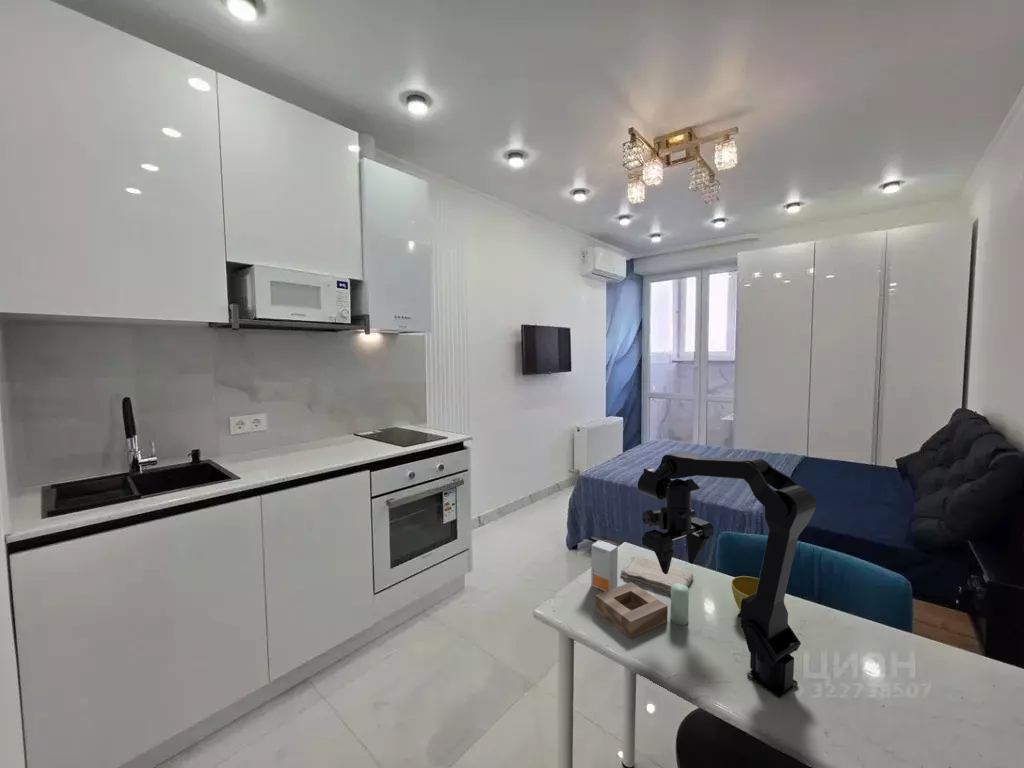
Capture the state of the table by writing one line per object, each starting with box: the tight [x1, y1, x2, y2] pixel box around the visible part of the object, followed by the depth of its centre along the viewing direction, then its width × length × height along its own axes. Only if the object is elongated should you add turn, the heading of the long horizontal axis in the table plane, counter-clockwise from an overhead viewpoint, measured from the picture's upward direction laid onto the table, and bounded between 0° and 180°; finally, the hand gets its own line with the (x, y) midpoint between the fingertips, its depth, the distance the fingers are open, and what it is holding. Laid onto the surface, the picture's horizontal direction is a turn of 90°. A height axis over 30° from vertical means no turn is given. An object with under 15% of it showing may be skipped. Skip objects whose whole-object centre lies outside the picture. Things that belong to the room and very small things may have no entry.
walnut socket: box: [595, 581, 669, 639], centre depth 105 cm, size 12×12×4 cm
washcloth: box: [620, 555, 694, 595], centre depth 122 cm, size 12×18×3 cm, turn 54°
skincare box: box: [590, 539, 619, 592], centre depth 117 cm, size 6×4×12 cm
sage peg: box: [670, 584, 690, 626], centre depth 103 cm, size 4×4×8 cm
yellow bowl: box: [730, 575, 759, 611], centre depth 104 cm, size 10×10×7 cm
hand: (678, 568), depth 102 cm, fingers open, 9 cm apart
